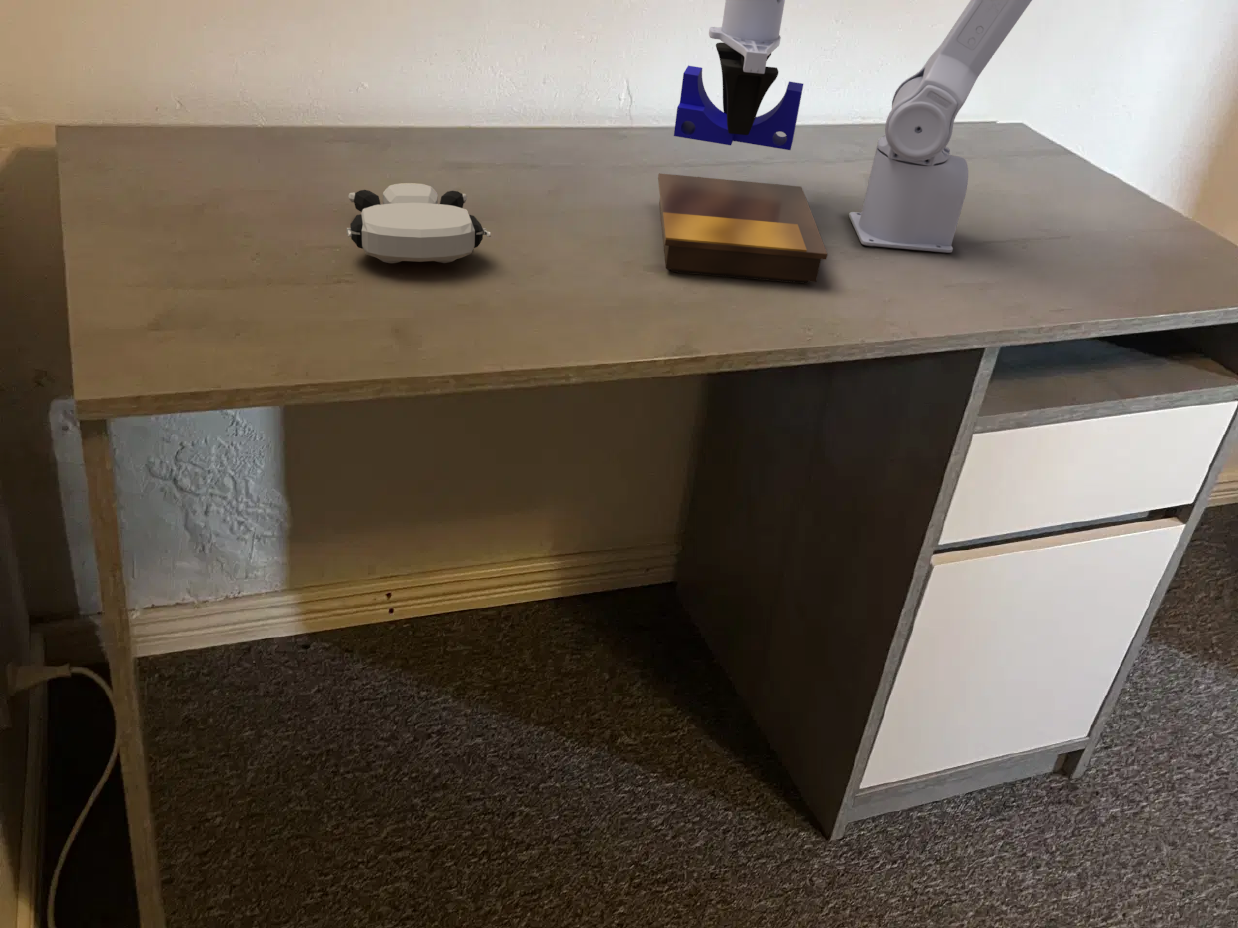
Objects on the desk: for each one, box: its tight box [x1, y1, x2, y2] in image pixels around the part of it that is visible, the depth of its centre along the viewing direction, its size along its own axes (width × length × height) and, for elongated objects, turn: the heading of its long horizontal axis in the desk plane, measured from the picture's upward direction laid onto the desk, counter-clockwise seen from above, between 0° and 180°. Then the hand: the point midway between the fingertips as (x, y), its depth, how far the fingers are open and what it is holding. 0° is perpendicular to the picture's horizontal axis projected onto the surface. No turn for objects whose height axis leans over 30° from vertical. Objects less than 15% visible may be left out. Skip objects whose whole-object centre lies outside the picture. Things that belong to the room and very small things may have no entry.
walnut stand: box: [657, 173, 829, 285], centre depth 112 cm, size 15×17×4 cm
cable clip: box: [673, 65, 804, 151], centre depth 117 cm, size 12×4×6 cm, turn 78°
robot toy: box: [346, 182, 492, 264], centre depth 105 cm, size 12×4×15 cm
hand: (735, 125), depth 118 cm, fingers closed on cable clip, 5 cm apart
